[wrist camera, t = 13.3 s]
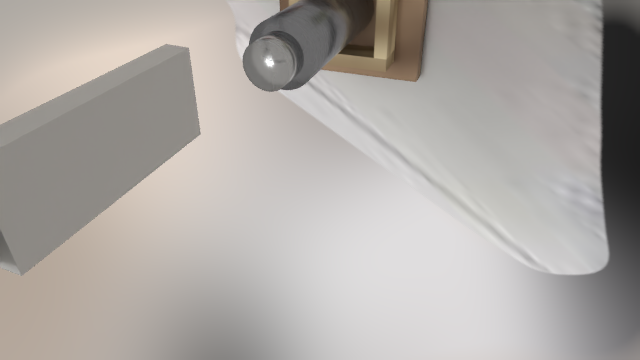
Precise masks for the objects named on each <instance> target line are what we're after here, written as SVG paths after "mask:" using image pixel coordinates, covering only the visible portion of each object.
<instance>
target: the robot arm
mask: <svg viewBox="0 0 640 360" xmlns="http://www.w3.org/2000/svg"><path fill="white" fill-rule="evenodd" d="M199 135H200V127H199V119H198V112H197V104H196V97H195V90H194V83H193V75H192V68H191V60H190V53H189V48H186V47H180V46H174V45H168V44H166V45H164V46H161V47H159V48H157V49H155V50H153V51H151V52H149V53H147V54H145V55H143V56H141V57H139V58H137V59H135V60H133V61H130V62H129V63H126V64H124V65H122V66H120V67H118V68H116V69H114V70H112V71H110V72H108V73H106V74H104V75H102V76H100V77H98V78H96V79H94V80H92V81H90V82H87V83H86V84H83V85H81V86H79V87H77V88H75V89H73V90H71V91H69V92H67V93H65V94H63V95H61V96H59V97H57V98H55V99H52V100H50V101H49V102H46V103H44V104H42V105H40V106H38V107H36V108H34V109H32V110H30V111H28V112H26V113H24V114H22V115H20V116H18V117H16V118H13V119H12V120H9V121H8V122H5V123H3V124H1V125H0V268H2V269H5V270H8V271H10V272H13V273H15V274H18V275H21V276H22V275H23V274H25V273H26V272H27V271H29V270H30V269H31V268H32V267H33V266H35V265H36V264H37V263H39V262H40V261H41V260H42V259H44V258H45V257H46V256H47V255H49V254H50V253H51V252H52V251H53V250H55V249H56V248H57V247H59V246H60V245H61V244H63V243H64V242H65V241H66V240H68V239H69V238H70V237H71V236H73V235H74V234H75V233H76V232H78V231H79V230H80V229H81V228H83V227H84V226H85V225H87V224H88V223H89V222H90V221H92V220H93V219H94V218H95V217H97V216H98V215H99V214H100V213H102V212H103V211H104V210H105V209H107V208H108V207H109V206H110V205H112V204H113V203H114V202H115V201H117V200H118V199H119V198H121V197H122V196H123V195H124V194H126V193H127V192H128V191H129V190H131V189H132V188H133V187H134V186H136V185H137V184H138V183H139V182H141V181H142V180H143V179H144V178H146V177H147V176H148V175H149V174H151V173H152V172H153V171H154V170H156V169H157V168H158V167H159V166H161V165H162V164H163V163H165V162H166V161H167V160H168V159H170V158H171V157H172V156H173V155H175V154H176V153H177V152H179V151H180V150H181V149H182V148H184V147H185V146H186V145H187V144H189V143H190V142H191V141H192V140H194V139H195V138H196V137H197V136H199Z"/></svg>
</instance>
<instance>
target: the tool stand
mask: <svg viewBox="0 0 640 360" xmlns="http://www.w3.org/2000/svg"><path fill="white" fill-rule="evenodd" d="M298 1H299V0H280V11H282V10H284V9H285V8H287V7H289V6H291V5H292V4H294V3H296V2H298ZM373 4H374V11H373V16H372V19H371V21H370V23H369V24H368V26H367V27H366V28H365V29H364V30H363V31H362V32H361V33H359V34H358V35H357V36H356V37H355V38H354V39H353V40H352V41H351V42H350V43H349V44H348V45H346V46H345V47H344V48H343V49H342V50H341V51H340V52H339V53H338V54H337V55H336V56H335V57H333V58H332V59H331V60H330V61H329V62H328V63H327V64H326V65H325V66H324V67H323V68H322V69H321V70H329V71H337V72H344V73H352V74H359V75H367V76H375V77H382V78H390V79H398V80H405V81H413V82H416V81H417V80H418V78H419V76H420V70H421V61H422V51H423V42H424V33H425V24H426V14H427V5H428V0H373Z"/></svg>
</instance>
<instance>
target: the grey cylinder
mask: <svg viewBox="0 0 640 360" xmlns="http://www.w3.org/2000/svg"><path fill="white" fill-rule="evenodd" d="M373 11H374V4H373V0H299V1H298V2H296V3H294V4H292V5H291V6H289V7H287V8H285V9H284V10H282V11H280V12H279V13H277V14H275V15H273V16H272V17H270V18H268V19H267V20H265V21H263V22H262V23H260V24H259V25H258V26H257V27H256V28H255V29H254V31H253V32H252V34H251V37H250V41H249V46H248V47H247V48H246V50H245V52H244V55H243V67H244V71H245V73H246V75H247V77H248V78H249V80H250V81H251V82H252V83H253V84H254V85H255V86H257V87H258V88H260V89H262V90H264V91H271V92H272V91H277V90H280V89H283V90H293V89H297V88H299V87H301V86H303V85H304V84H305V83H306V82H308V81H309V80H310V79H311V78H312V77H313V76H314V75H315V74H316V73H317V72H318V71H319V70H320V69H322V68H323V67H324V66H325V65H326V64H327V63H328V62H329V61H330V60H331V59H332V58H333V57H335V56H336V55H337V54H338V53H339V52H340V51H341V50H342V49H343V48H344V47H345V46H346V45H348V44H349V43H350V42H351V41H352V40H353V39H354V38H355V37H356V36H357V35H358V34H359V33H361V32H362V31H363V30H364V29H365V28H366V27H367V26H368V24H369V23H370V21H371V19H372V16H373Z"/></svg>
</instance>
